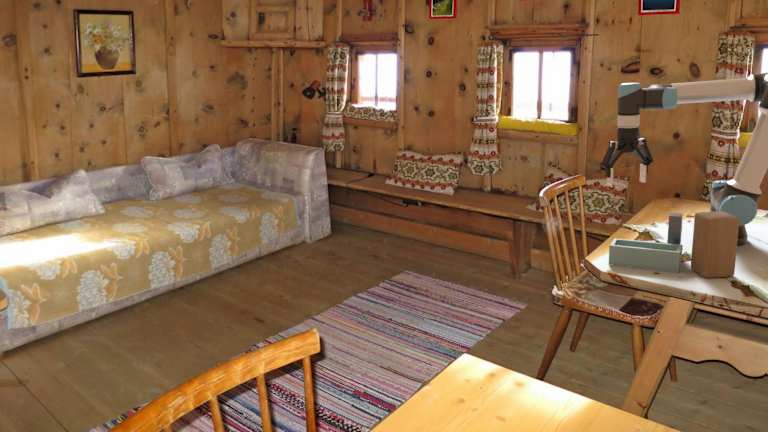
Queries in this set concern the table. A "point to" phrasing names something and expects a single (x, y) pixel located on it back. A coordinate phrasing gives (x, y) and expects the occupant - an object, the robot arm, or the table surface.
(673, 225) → the brushed steel bar
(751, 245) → the table surface
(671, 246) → the grey-green open box
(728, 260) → the wooden block
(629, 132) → the robot arm
